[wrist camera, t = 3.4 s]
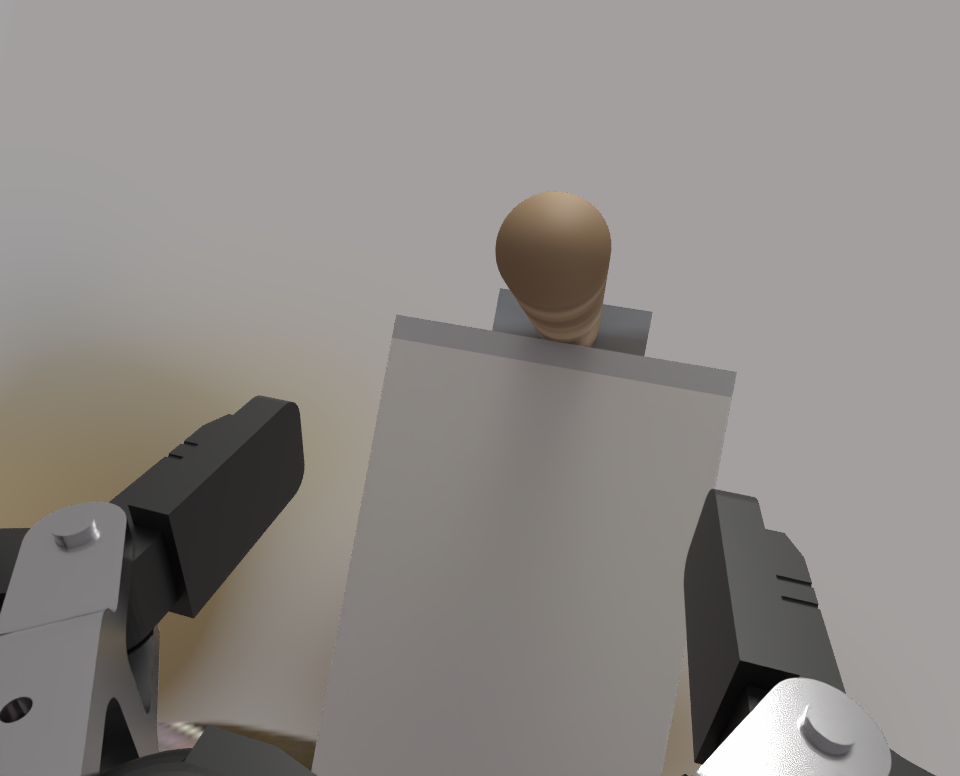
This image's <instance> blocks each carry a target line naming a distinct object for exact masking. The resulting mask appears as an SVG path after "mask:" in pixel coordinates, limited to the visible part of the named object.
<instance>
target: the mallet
mask: <svg viewBox="0 0 960 776" xmlns="http://www.w3.org/2000/svg"><path fill="white" fill-rule="evenodd" d="M610 254H611V238H610V233H609V229H608V226H607V224H606V222H605V220H604V218H603V216H602V215H601V213H600V212H599V211H598V210H597V209H596V208H595V207H594V206H593V205H592V204H591V203H590V202H588V201H587V200H585V199H583V198H581V197H579V196H577V195H574V194H571V193H567V192H558V191H553V192H545V193H540V194H537V195H534V196H532V197H530V198H528V199H526V200H524V201H523V202H521V203H520V204H518V205H517V206H516V207H515V208H514V209H513V210H512V211H511V212H510V213H509V214H508V216H507V217H506V219H505V220H504V222H503V224H502V225H501V228H500V230H499V233H498V236H497V241H496V261H497V265H498V269H499V271H500V274H501V276H502V278H503V279H504V281H505V283H506V284H507V286H508V287H509V289H510V290H507V289H500V293H499V298H498V303H497V308H496V314H495V319H494V324H493V330H492V331H496V332H502V333H508V334H514V335H520V336H526V337H531V338H537V339H543V340H549V341H555V342H561V343H567V344H573V345H579V346H585V347H591V348H597V349H603V350H609V351H615V352H621V353H626V354H632V355H638V356H644V354H645V349H646V343H647V338H648V332H649V327H650V322H651V317H652V312H649V311H643V310H636V309H630V308H623V307H616V306H610V305H604V304H603V298H604V293H605V286H606V280H607V274H608V268H609V261H610Z"/></svg>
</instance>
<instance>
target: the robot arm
mask: <svg viewBox="0 0 960 776" xmlns="http://www.w3.org/2000/svg"><path fill="white" fill-rule="evenodd" d="M303 474H304V454H303V444H302V432H301V421H300V412H299V408H298V406H297V405H296V403H294V402H289V401H284V400H279V399H275V398H269V397H265V396H256V397H254V398H253V399H251V400H250V401H249V402H248V403H247V404H246V405H244V406H243V407H242V408H241V409H240V410H239V411H237V412H236V413H235V414H234V415H230V414H228V415H226V416H223V417H221V418H219V419H217V420H214V421H212V422H210V423H208V424H205V425H203V426H202V427H201V428H199V429H198V430H197V431H196V432H195V433H193V434H192V435H191V436H190V437H188V438H187V439H186V440H185V441H184V444H180V445H179V446H177V447H176V448H175V449H174V450H172V451H171V452H170V453H169V456H168V457H164V458H163V459H162V460H160V461H159V462H158V463H157V464H155V465H154V466H153V467H152V468H150V469H149V470H148V471H147V472H145V474H143V475H142V476H141V477H139V478H138V479H137V480H136V481H135V482H133V483H132V484H131V485H130V486H128V487H127V488H126V489H125V490H124V491H122V492H121V493H120V494H119V495H117V496H116V497H115V498H114V499H112V500H111V501H110V502H109V503H107V502H85V503H79V504H75V505H71V506H68V507H65V508H62V509H60V510H57V511H55V512H53V513H51V514H49V515H48V516H46V517H44V518H43V519H41V520H40V521H38V522H37V523H36V524H35V525H34V526H32V528H12V529H11V528H9V529H0V776H317V775H315V774H314V773H313V772H311V771H310V770H308V769H307V768H306V767H304V766H303V765H301V764H300V763H299V762H297V761H296V760H295V759H293V758H292V757H290V756H289V755H288V754H286V753H285V752H283V751H282V750H281V749H279V748H278V747H276V746H274V745H271V744H268V743H265V742H262V741H259V740H255V739H252V738H249V737H246V736H243V735H240V734H236V733H233V732H230V731H227V730H224V729H221V728H218V727H214V726H211V725H208V726H207V727H206V729H205V730H204V732H203V733H202V735H201V736H200V738H199V739H198V741H197V742H196V744H195V745H194V747H193V748H185V749H177V750H168V751H163V752H159V746H158V736H157V709H158V708H157V707H158V680H159V649H160V631H159V627H158V623H159V622H160V620H161V619H162V618H163V617H164V616H165V615H166V614H167V612H168V611H170V612H173V613H177V614H180V615H184V616H187V617H191V618H195V616H196V615H197V614H198V613H199V611H200V610H201V609H202V608H203V607H204V605H205V604H206V603H207V602H208V600H209V599H210V598H211V597H212V596H213V594H214V593H215V592H216V591H217V589H218V588H219V587H220V586H221V585H222V583H223V582H224V581H225V580H226V578H227V577H228V576H229V575H230V574H231V572H232V571H233V570H234V569H235V567H236V566H237V565H238V564H239V563H240V561H241V560H242V559H243V558H244V557H245V555H246V554H247V553H248V552H249V550H250V549H251V548H252V547H253V546H254V544H255V543H256V542H257V541H258V539H259V538H260V537H261V536H262V535H263V533H264V532H265V531H266V530H267V528H268V527H269V526H270V525H271V524H272V522H273V521H274V520H275V519H276V517H277V516H278V515H279V513H280V512H281V511H282V510H283V509H284V508H285V506H286V505H287V504H288V503H289V501H290V500H291V499H292V498H293V497H294V495H295V494H296V493H297V491H298V489H299V487H300V485H301V482H302V479H303ZM811 584H812V582H811V578H810V575H809V572H808V569H807V565H806V562H805V559H804V557H803V556H802V555H801V553H800V552H799V551H798V549H797V548H796V547H795V546H794V544H793V543H792V542H791V541H790V539H789V538H788V537H787V536H786V534H785V533H781V532H777V531H772V530H767V529H765V527H764V523H763V519H762V515H761V511H760V507H759V503H758V500H757V499H756V498H755V497H751V496H746V495H740V494H736V493H731V492H726V491H721V490H716V489H711V490H710V491H709V492H708V494H707V497H706V499H705V502H704V505H703V508H702V511H701V514H700V517H699V520H698V523H697V526H696V529H695V532H694V535H693V538H692V541H691V544H690V547H689V551H688V554H687V558H686V563H685V570H684V602H685V618H686V634H687V649H688V666H689V682H690V698H691V699H690V700H691V716H692V732H693V748H694V762H695V763H698V764H702V766H701V767H700V768H699V769H698V770H697V772H695V773H694V775H692V776H935V775H933V774H931V773H929V772H927V771H926V770H924V769H922V768H920V767H918V766H916V765H915V764H913V763H911V762H909V761H907V760H906V759H904V758H903V757H901V756H900V755H898V754H897V753H895V752H894V751H892V750H891V749H890V748H889V746H888V743H887V741H886V738H885V736H884V734H883V732H882V731H881V730H880V728H879V726H878V725H877V723H876V722H875V721H874V719H873V718H872V717H871V716H870V715H869V714H868V713H867V712H866V711H865V709H864V708H863V707H861V705H859V704H858V703H857V702H856V701H854V700H853V699H852V698H851V697H849V696H848V695H846V692H845V689H844V686H843V683H842V679H841V676H840V674H839V670H838V667H837V663H836V660H835V657H834V653H833V650H832V647H831V644H830V640H829V637H828V634H827V631H826V627H825V625H824V621H823V618H822V614H821V611H820V609H818V601H817V598H816V595H815V591H814V588H811ZM682 776H687V775H686V774H684V775H682Z"/></svg>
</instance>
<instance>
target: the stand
mask: <svg viewBox="0 0 960 776" xmlns="http://www.w3.org/2000/svg"><path fill="white" fill-rule="evenodd" d="M735 378H736V372H733V371H727V370H721V369H716V368H710V367H703V366H698V365H691V364H686V363H679V362H674V361H667V360H662V359H656V358H650V357H644V356H638V355H632V354H626V353H621V352H615V351H609V350H603V349H597V348H591V347H585V346H579V345H573V344H567V343H561V342H555V341H549V340H543V339H537V338H531V337H526V336H520V335H514V334H508V333H502V332H496V331H489V330H484V329H478V328H472V327H466V326H460V325H454V324H448V323H442V322H436V321H431V320H424V319H419V318H413V317H406V316H401V315H396V319H395V324H394V331H393V335H392V341H391V346H390V351H389V357H388V362H387V368H386V373H385V378H384V384H383V389H382V395H381V400H380V405H379V411H378V416H377V421H376V427H375V432H374V437H373V443H372V448H371V454H370V459H369V465H368V470H367V475H366V481H365V486H364V491H363V496H362V502H361V507H360V512H359V518H358V524H357V529H356V534H355V540H354V545H353V550H352V555H351V561H350V566H349V572H348V577H347V583H346V588H345V593H344V599H343V604H342V609H341V615H340V620H339V625H338V631H337V636H336V641H335V647H334V652H333V658H332V663H331V668H330V674H329V679H328V684H327V690H326V696H325V701H324V706H323V711H322V717H321V722H320V727H319V733H318V739H317V743H316V749H315V754H314V760H313V765H312V770H311V772H313V773H314V774H315V775H317V776H661V774H662V769H663V764H664V758H665V753H666V747H667V742H668V737H669V732H670V726H671V720H672V715H673V710H674V705H675V700H676V694H677V689H678V684H679V678H680V673H681V667H682V662H683V657H684V651H685V646H686V641H687V634H686V618H685V602H684V570H685V563H686V558H687V554H688V551H689V547H690V544H691V541H692V538H693V535H694V532H695V529H696V526H697V523H698V520H699V517H700V514H701V511H702V508H703V505H704V502H705V499H706V497H707V494H708V492H709V491H710V490H711V489H715V485H716V480H717V474H718V469H719V463H720V459H721V453H722V448H723V443H724V437H725V432H726V426H727V421H728V416H729V410H730V405H731V400H732V394H733V389H734V384H735Z"/></svg>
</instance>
